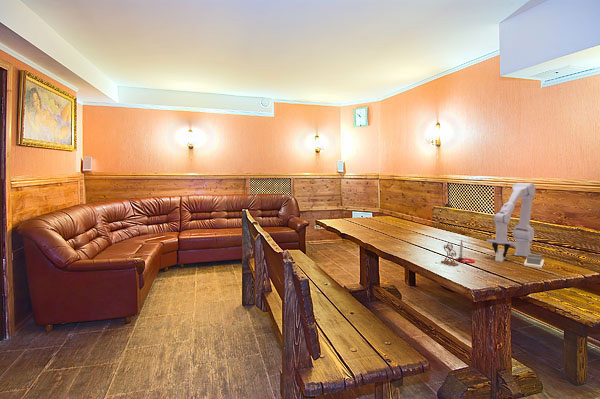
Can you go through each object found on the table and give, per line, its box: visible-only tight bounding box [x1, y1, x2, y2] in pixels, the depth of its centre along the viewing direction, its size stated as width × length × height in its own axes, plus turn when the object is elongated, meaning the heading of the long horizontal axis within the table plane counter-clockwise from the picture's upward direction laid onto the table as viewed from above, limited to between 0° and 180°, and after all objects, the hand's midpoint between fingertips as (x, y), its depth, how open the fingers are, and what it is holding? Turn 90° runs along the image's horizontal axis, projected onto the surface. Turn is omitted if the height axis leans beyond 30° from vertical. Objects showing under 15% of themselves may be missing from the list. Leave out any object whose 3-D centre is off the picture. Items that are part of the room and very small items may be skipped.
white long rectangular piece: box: [494, 247, 507, 263], centre depth 191 cm, size 12×4×5 cm, turn 140°
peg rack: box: [523, 253, 545, 269], centre depth 181 cm, size 16×8×4 cm, turn 140°
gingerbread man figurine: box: [440, 242, 460, 267], centre depth 183 cm, size 9×4×12 cm, turn 26°
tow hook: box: [454, 239, 476, 264], centre depth 188 cm, size 8×13×9 cm
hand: (500, 256), depth 191 cm, fingers closed on white long rectangular piece, 3 cm apart
